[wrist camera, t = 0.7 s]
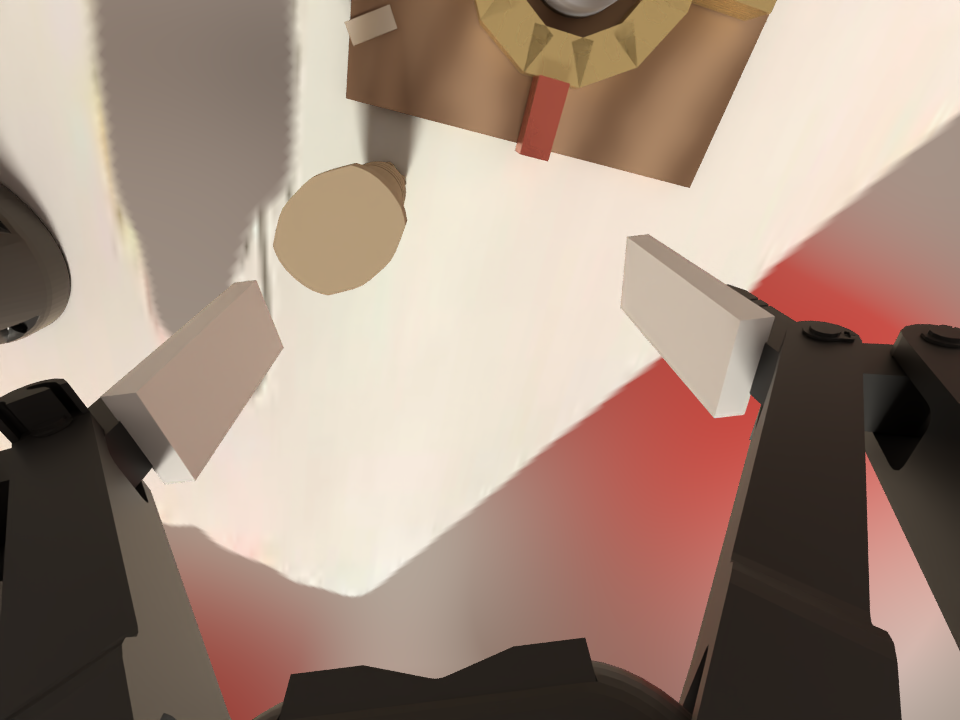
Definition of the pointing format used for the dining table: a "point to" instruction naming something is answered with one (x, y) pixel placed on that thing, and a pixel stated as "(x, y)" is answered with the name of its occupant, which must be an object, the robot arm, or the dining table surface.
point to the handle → (342, 226)
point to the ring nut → (583, 53)
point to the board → (587, 110)
